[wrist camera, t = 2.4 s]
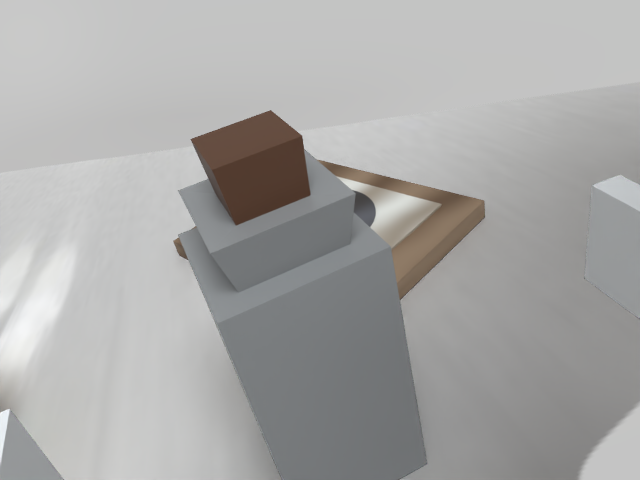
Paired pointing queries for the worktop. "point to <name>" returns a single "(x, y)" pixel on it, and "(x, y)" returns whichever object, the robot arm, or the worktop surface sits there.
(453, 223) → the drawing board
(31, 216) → the worktop surface
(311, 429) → the perfume bottle
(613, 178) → the robot arm
